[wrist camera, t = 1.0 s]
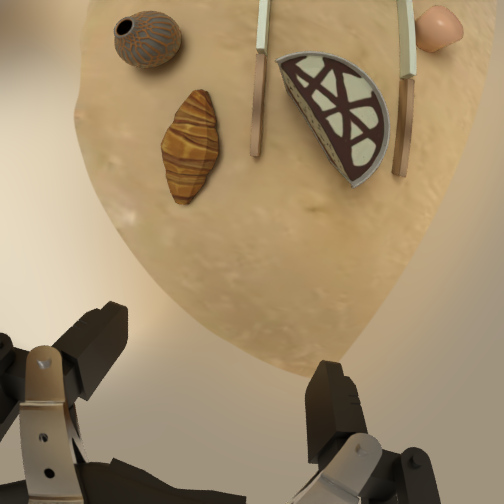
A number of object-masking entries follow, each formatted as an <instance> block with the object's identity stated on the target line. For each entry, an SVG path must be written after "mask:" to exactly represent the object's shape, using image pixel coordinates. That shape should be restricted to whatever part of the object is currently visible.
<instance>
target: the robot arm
mask: <svg viewBox="0 0 504 504" xmlns="http://www.w3.org/2000/svg"><path fill="white" fill-rule="evenodd" d="M127 340H128V309H127V307H126V306H123V305H120V304H118V303H115V302H112V301H109V302H108V303H107V304H106V305H105V306H104V307H103V308H102V309H101V310H100V309H97V308H96V309H94V310H91V311H89V312H86V313H85V314H84V315H83V316H82V317H81V318H80V319H79V321H77V322H76V323H75V324H74V325H73V327H70V328H69V329H68V330H67V331H66V333H64V334H63V335H62V336H61V337H60V338H59V339H58V340H57V341H56V342H55V343H54V344H53V345H52V346H45V345H44V346H38V347H35V348H34V349H32V350H31V351H26V350H22V349H19V348H16V347H13V344H12V341H11V338H10V337H9V336H8V335H6V334H4V333H0V442H1V440H2V438H3V437H4V435H5V434H6V432H7V431H8V429H9V428H10V426H11V425H12V423H13V422H14V420H15V419H16V417H17V416H18V414H19V418H20V419H19V420H20V437H21V449H22V457H23V465H24V472H25V478H26V479H25V480H22V481H17V482H12V483H8V484H3V485H0V504H246V496H240V495H234V494H228V493H223V492H218V491H213V490H187V489H177V488H174V487H172V486H170V485H168V484H166V483H164V482H162V481H161V480H159V479H158V478H156V477H154V476H152V475H151V474H149V473H148V472H146V471H144V470H142V469H139V468H137V467H134V466H132V465H129V464H127V463H124V462H122V461H120V460H117V459H115V458H113V459H112V461H111V463H110V464H108V463H101V462H89V461H88V457H87V455H86V452H85V449H84V446H83V442H82V438H81V434H80V429H79V424H78V418H77V413H76V407H75V403H74V402H75V401H76V399H77V398H78V397H80V398H82V399H84V400H86V401H88V400H89V398H90V397H91V395H92V394H93V392H94V391H95V390H96V388H97V387H98V385H99V384H100V382H101V381H102V379H103V378H104V376H105V375H106V374H107V372H108V371H109V369H110V368H111V367H112V365H113V364H114V362H115V361H116V360H117V358H118V357H119V356H120V354H121V353H122V351H123V350H124V348H125V346H126V344H127ZM305 409H306V425H307V444H308V463H312V464H318V467H319V470H318V471H317V472H316V473H315V474H314V475H313V476H312V477H311V478H310V479H309V481H308V482H307V483H306V484H305V485H304V486H303V487H302V488H301V489H300V490H299V491H298V492H297V493H296V494H295V495H294V496H293V497H292V498H291V499H290V500H289V501H288V502H287V503H286V504H358V502H359V498H358V497H357V496H359V497H361V504H441V502H440V497H439V493H438V489H437V484H436V480H435V476H434V473H433V469H432V465H431V461H430V459H429V456H428V455H427V454H426V453H425V452H424V451H423V450H422V449H419V448H416V447H410V448H408V449H406V450H405V451H404V452H403V453H401V454H398V453H394V452H391V451H387V450H384V449H382V447H381V445H380V443H379V442H378V440H377V439H376V438H374V437H373V436H371V435H369V434H368V432H367V427H366V423H365V419H364V415H363V411H362V407H361V406H360V400H359V398H358V392H357V388H356V385H355V384H354V383H353V381H352V380H351V379H350V377H347V376H344V374H343V370H342V366H341V364H340V363H337V362H331V361H325V360H322V361H321V362H320V364H319V365H318V367H317V369H316V371H315V373H314V375H313V377H312V379H311V381H310V382H309V385H308V387H307V389H306V393H305ZM397 498H398V500H397Z"/></svg>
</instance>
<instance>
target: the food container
mask: <svg viewBox="0 0 504 504" xmlns="http://www.w3.org/2000/svg"><path fill="white" fill-rule="evenodd" d="M275 62H278V65H279V68H280V72H281V75H282V78H283V81H284V85H285V88H286V91H287V92H288V94H289V95H290V97H291V98H292V100H293V101H294V103H295V104H296V106H297V107H298V109H299V111H300V112H301V114H302V115H303V117H304V119H305V120H306V122H307V123H308V125H309V127H310V128H311V130H312V132H313V133H314V135H315V137H316V138H317V140H318V142H319V143H320V145H321V147H322V149H323V150H324V152H325V154H326V156H327V158H328V159H329V161H330V163H331V164H332V165H333V166H334V167H335V168H336V169H337V170H338V171H339V172H340V173H341V174H342V175H343V176H344V177H345V178H346V179H347V180H348V182H349V183H350V184H351V185H352V186H351V188H353V189H354V188H356V187H357V186H359V185H360V184H362V183H363V182H365V181H366V180H367V179H368V178H369V177H370V176H371V175H372V174H373V173H374V172H375V170H376V169H377V168H378V167H379V165H380V163H381V161H382V160H383V158H384V156H385V153H386V150H387V148H388V143H389V138H390V119H389V112H388V109H387V106H386V102H385V100H384V98H383V96H382V94H381V92H380V90H379V89H378V87H377V86H376V84H375V83H374V81H373V80H372V79H371V78H370V77H369V76H368V75H367V74H366V73H365V72H364V71H363V70H361V69H360V68H359V67H358V66H356V65H355V64H353V63H351V62H350V61H348V60H346V59H344V58H341V57H339V56H336V55H333V54H329V53H324V52H316V51H305V52H296V53H292V54H288V55H285V56H282V57H280V58H278V59H276V60H275Z"/></svg>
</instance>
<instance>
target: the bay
mask: <svg viewBox="0 0 504 504" xmlns="http://www.w3.org/2000/svg"><path fill="white" fill-rule="evenodd" d="M397 8H398V20H399V39H400V78H403V79H407V78H411V77H413V76H416V37H415V23H414V13H413V4H412V0H397ZM269 16H270V0H260V4H259V17H258V30H257V44H256V49H257V51H258V54H265V56H267V46H268V31H269Z"/></svg>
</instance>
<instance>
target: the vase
mask: <svg viewBox="0 0 504 504" xmlns="http://www.w3.org/2000/svg"><path fill="white" fill-rule="evenodd" d="M114 35H115V42H114V43H115V49H116V51H117V53H118V55H119V56H120V57H121V58H122V59H123V60H124V61H125V62H126V63H128V64H130V65H132V66H136V67H140V68H152V67H156V66H159V65H162V64H164V63H166V62H167V61H169V60H170V59H171V58H172V57H173V56H174V55H175V54H176V52H177V51H178V49H179V47H180V43H181V32H180V29H179V27H178V25H177V23H176V22H175V21H174V20H173V19H172V18H171V17H169V16H168V15H166V14H164V13H161V12H156V11H143V12H139V13H136V14H134V15H132V16H130V17H125V18H123V19H121V20H120V21H119V22H118V23H117V24H116V26H115V28H114Z"/></svg>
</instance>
